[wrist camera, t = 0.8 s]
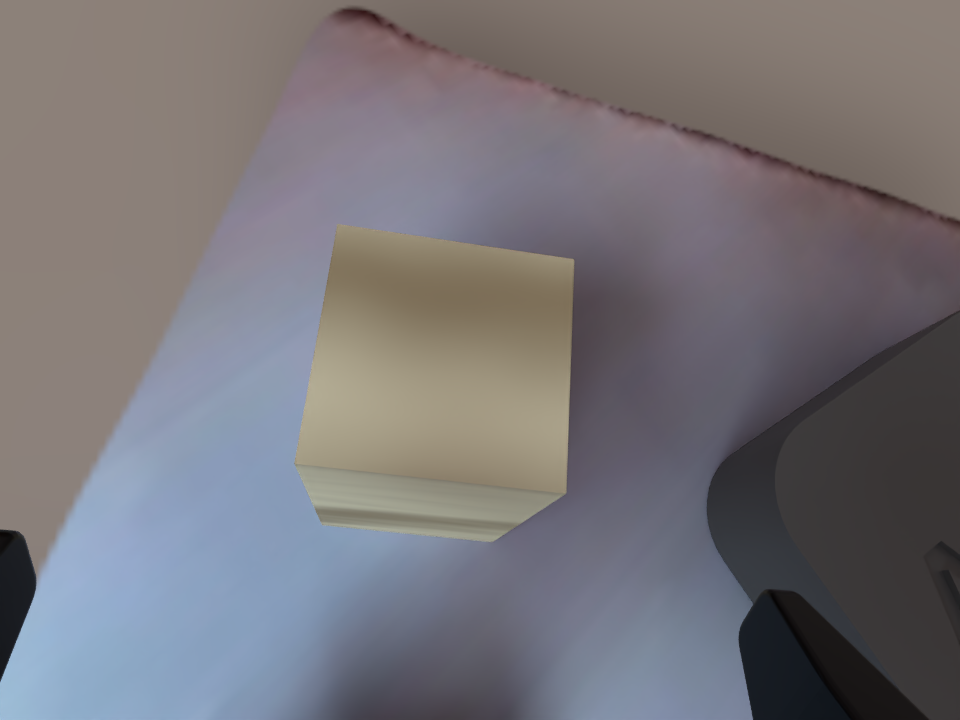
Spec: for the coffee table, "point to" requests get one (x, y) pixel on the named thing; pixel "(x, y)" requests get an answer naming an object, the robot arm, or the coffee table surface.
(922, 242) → the coffee table surface
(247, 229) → the coffee table surface
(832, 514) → the streaming box
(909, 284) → the coffee table surface
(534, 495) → the plain birch block
